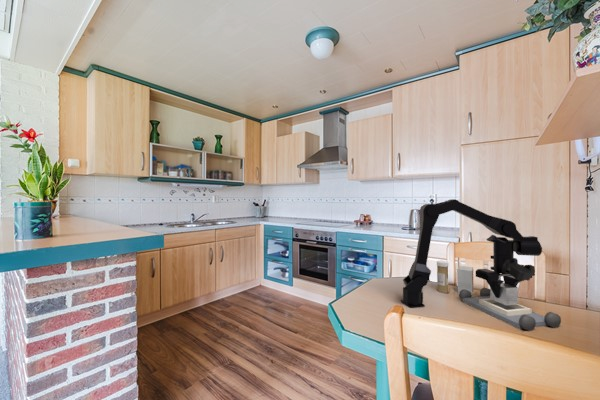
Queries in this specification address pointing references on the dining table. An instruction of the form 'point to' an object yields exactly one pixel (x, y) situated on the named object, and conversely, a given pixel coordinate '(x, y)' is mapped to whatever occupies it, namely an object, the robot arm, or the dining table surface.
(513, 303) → the block
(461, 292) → the chassis
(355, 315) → the dining table surface
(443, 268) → the sprinkles bottle
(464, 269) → the small box
